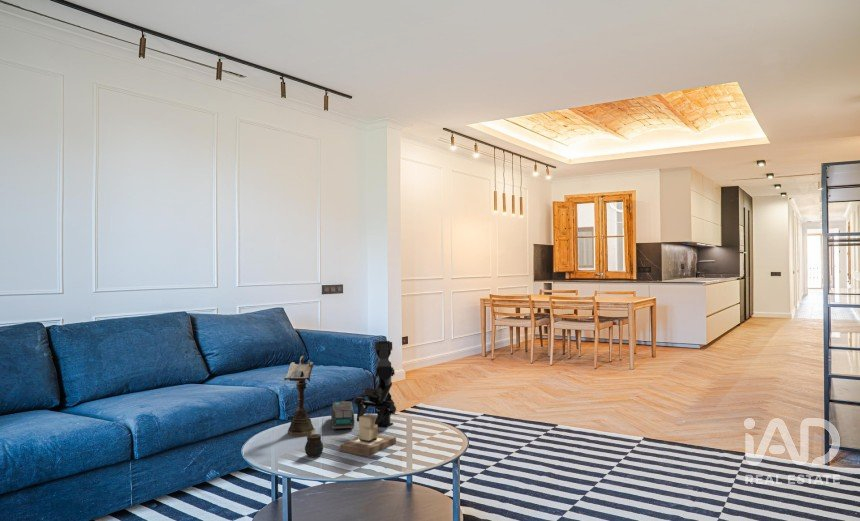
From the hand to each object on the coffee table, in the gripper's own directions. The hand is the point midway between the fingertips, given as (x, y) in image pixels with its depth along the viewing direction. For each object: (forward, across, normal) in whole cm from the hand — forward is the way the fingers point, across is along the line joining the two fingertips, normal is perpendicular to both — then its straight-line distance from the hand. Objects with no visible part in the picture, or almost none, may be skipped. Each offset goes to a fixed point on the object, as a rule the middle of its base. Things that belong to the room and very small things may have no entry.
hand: (366, 422), depth 243 cm
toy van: (-10, -32, +25) cm, 42 cm away
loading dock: (+6, 0, +8) cm, 10 cm away
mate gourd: (+21, -12, -6) cm, 25 cm away
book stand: (+6, -37, +8) cm, 38 cm away
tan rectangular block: (+4, 0, +6) cm, 8 cm away
